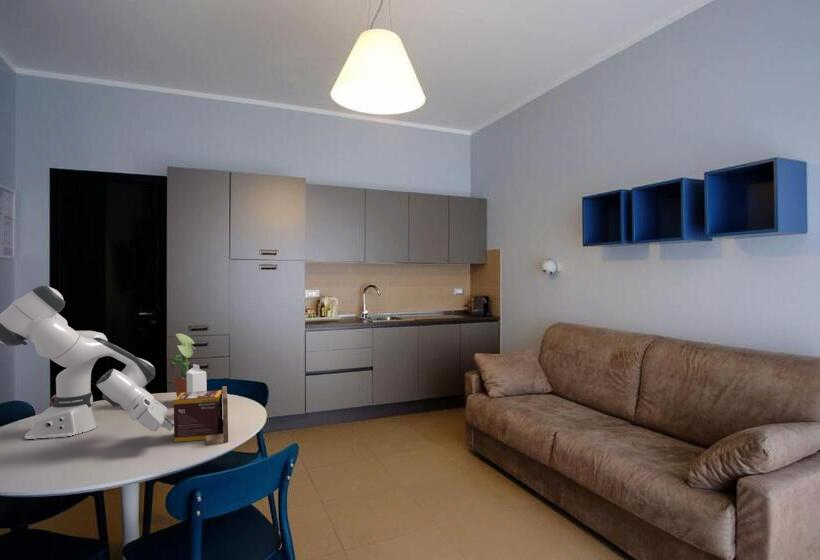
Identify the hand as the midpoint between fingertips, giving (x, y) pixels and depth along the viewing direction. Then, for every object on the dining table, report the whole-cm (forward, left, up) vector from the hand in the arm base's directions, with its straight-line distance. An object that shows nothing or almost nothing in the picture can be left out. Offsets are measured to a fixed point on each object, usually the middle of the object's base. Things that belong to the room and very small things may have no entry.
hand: (172, 428), depth 174 cm
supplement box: (+9, +2, -5) cm, 10 cm away
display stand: (+15, 0, -5) cm, 16 cm away
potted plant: (+3, +49, -5) cm, 50 cm away
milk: (+7, +29, -5) cm, 31 cm away
